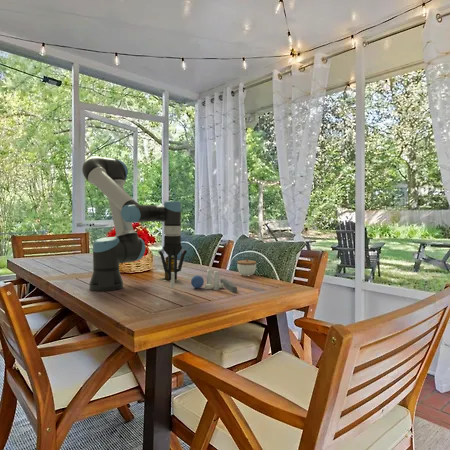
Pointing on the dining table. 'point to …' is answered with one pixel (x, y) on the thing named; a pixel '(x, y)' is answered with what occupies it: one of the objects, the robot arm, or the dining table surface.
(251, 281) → the dining table surface
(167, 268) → the condiment
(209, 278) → the back pin left
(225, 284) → the stopper bar
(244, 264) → the lidded jar
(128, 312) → the dining table surface
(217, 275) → the back pin right
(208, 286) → the front pin
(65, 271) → the dining table surface
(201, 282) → the ball
